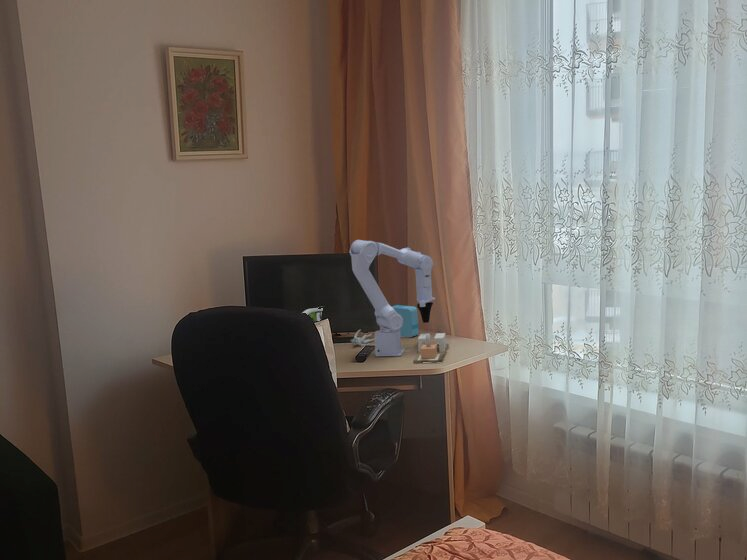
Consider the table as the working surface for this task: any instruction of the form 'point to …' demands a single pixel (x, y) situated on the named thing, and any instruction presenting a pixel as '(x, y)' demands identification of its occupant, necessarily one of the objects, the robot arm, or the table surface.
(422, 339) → the grey tunnel
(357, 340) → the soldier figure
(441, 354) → the walnut board
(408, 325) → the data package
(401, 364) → the table surface
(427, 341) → the sled block
